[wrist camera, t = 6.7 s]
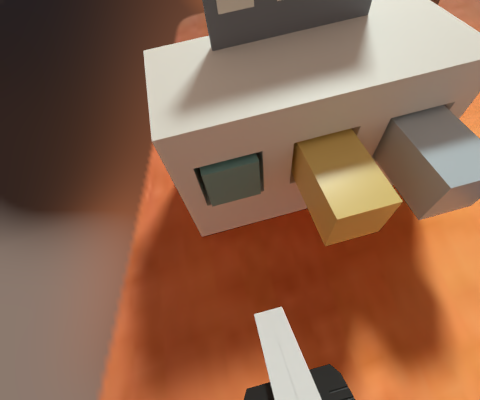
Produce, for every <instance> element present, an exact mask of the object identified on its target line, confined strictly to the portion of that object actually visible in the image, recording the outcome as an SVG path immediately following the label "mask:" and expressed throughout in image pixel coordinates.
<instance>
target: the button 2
mask: <svg viewBox="0 0 480 400" xmlns="http://www.w3.org/2000/svg"><path fill="white" fill-rule="evenodd" d="M373 157H374V158H375V159H376V161H377V162H378V164H379V165H380V166H381V168H382V169H383V171H384V172H385V173H386V175H387V176H388V178H389V179H390V181H391V182H392V183H393V185H394V186H395V188H396V189H397V190H398V192H399V193H400V195H401V196H402V197H403V199H404V200H405V202H406V203H407V204H408V206H409V207H410V209H411V210H412V212H413V213H414V214H415V216H416V217H417V219H418V220H421V219H425V218H429V217H432V216H436V215H439V214H443V213H447V212H450V211H454V210H457V209H461V208H464V207H468V206H471V205H472V204H474V203H475V202H476V201H477V200H478V199H480V139H479V138H478V137H477V136H476V135H475V134H474V133H473V132H472V131H471V130H470V129H469V128H468V127H467V126H466V125H465V124H463V123H462V122H461V121H460V120H459V119H458V118H457V117H456V116H455V115H454V114H453V113H452V112H451V111H450V110H449V109H448V108H447V107H445V106H444V105H440V106H436V107H433V108H429V109H425V110H421V111H417V112H413V113H409V114H405V115H401V116H397V117H394V118H391V119H390V121H389V123H388V125H387V127H386V129H385V131H384V133H383V136H382V138H381V140H380V142H379V144H378V146H377V148H376V150H375V152H374V154H373Z"/></svg>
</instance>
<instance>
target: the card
mask: <svg viewBox="0 0 480 400" xmlns="http://www.w3.org/2000/svg"><path fill="white" fill-rule="evenodd" d="M202 1H203V6H204V12H205V17H206V22H207V28H208V33H209V39H210V44H211V48H212V51H216V50H220V49H224V48H229V47H233V46H237V45H241V44H246V43H250V42H254V41H258V40H263V39H267V38H271V37H276V36H280V35H284V34H288V33H293V32H297V31H301V30H305V29H310V28H314V27H318V26H322V25H327V24H331V23H335V22H340V21H344V20H348V19H352V18H357V17H361V16H365V15H368V13H369V10H370V6H371V3H372V0H202Z"/></svg>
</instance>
